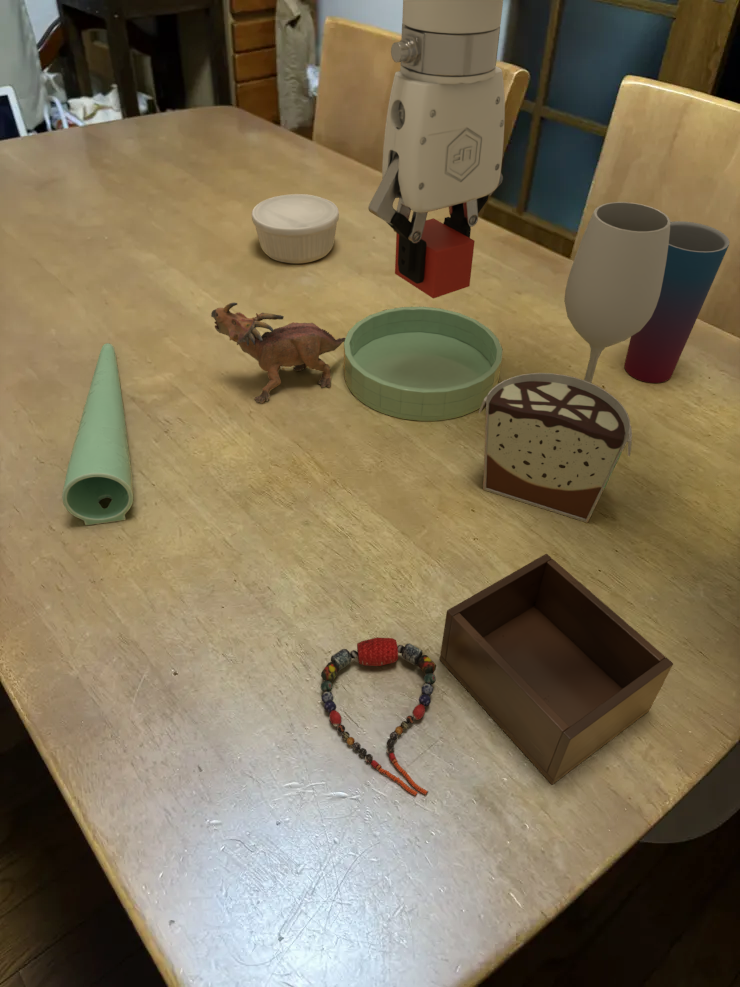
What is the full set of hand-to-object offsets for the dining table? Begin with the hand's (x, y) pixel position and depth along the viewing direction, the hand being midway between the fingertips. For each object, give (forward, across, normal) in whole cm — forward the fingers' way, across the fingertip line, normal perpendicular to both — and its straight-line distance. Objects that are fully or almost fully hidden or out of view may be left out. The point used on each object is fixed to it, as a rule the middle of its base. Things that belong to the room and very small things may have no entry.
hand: (432, 268), depth 71 cm
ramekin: (+12, +4, +33) cm, 36 cm away
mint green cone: (+12, -31, +10) cm, 34 cm away
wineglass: (+13, +7, -15) cm, 21 cm away
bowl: (+12, 0, +1) cm, 12 cm away
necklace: (+13, -27, -30) cm, 42 cm away
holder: (+13, -16, -34) cm, 40 cm away
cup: (+13, +21, -12) cm, 27 cm away
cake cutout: (+13, -1, -19) cm, 23 cm away
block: (+1, 0, 0) cm, 1 cm away
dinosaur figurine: (+12, -12, +7) cm, 19 cm away
